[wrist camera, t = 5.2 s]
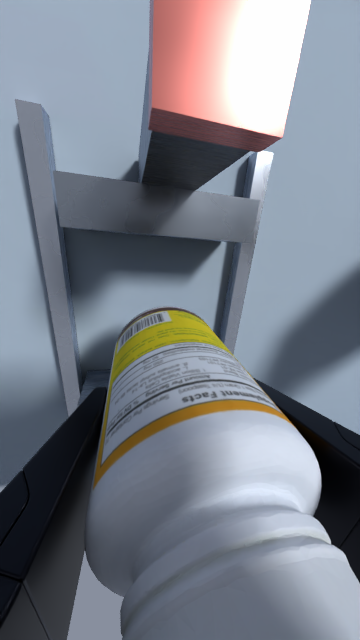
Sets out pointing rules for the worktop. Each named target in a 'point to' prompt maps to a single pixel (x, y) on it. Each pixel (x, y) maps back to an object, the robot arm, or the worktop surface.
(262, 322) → the worktop surface
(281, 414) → the supplement bottle
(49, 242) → the frame
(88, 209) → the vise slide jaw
